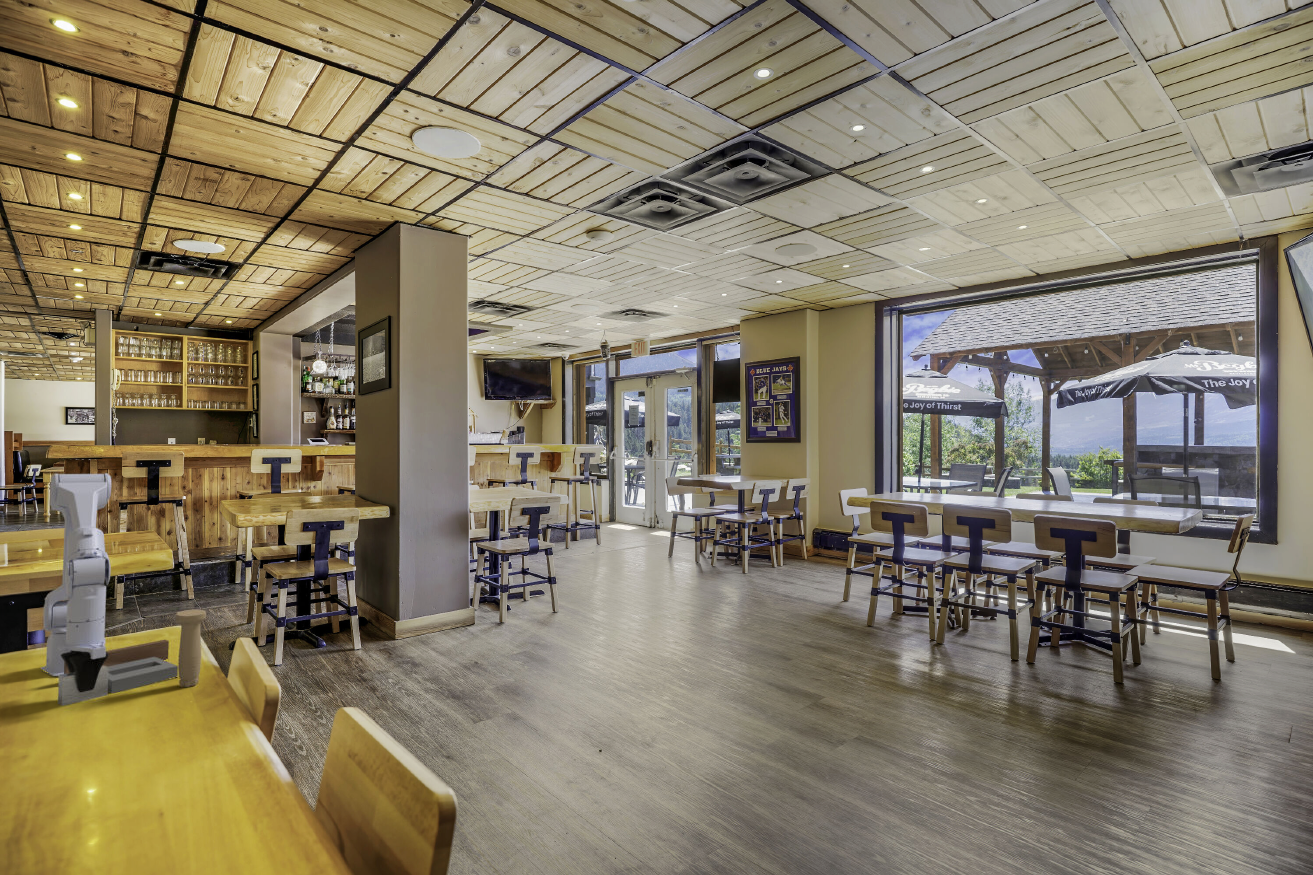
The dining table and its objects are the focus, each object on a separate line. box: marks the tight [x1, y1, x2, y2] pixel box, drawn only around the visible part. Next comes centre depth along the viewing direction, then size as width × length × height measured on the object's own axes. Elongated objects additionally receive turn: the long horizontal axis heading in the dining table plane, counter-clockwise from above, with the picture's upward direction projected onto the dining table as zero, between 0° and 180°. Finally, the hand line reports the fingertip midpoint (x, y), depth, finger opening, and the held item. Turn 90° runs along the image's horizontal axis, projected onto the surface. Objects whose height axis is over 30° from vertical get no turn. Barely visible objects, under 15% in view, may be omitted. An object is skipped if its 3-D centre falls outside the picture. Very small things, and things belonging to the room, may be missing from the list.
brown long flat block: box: [64, 639, 170, 674], centre depth 144 cm, size 2×18×5 cm, turn 147°
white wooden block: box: [57, 666, 109, 707], centre depth 129 cm, size 2×7×6 cm, turn 147°
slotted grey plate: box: [108, 657, 179, 694], centre depth 140 cm, size 12×11×2 cm
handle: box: [175, 609, 207, 688], centre depth 137 cm, size 5×6×15 cm
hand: (83, 689), depth 129 cm, fingers open, 2 cm apart
